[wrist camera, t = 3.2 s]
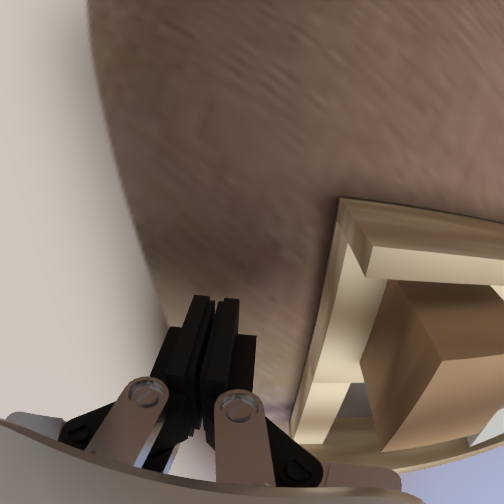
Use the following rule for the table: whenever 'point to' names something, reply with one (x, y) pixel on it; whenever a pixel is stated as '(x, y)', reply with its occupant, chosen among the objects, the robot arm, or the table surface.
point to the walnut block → (434, 362)
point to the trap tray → (363, 316)
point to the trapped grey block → (489, 429)
